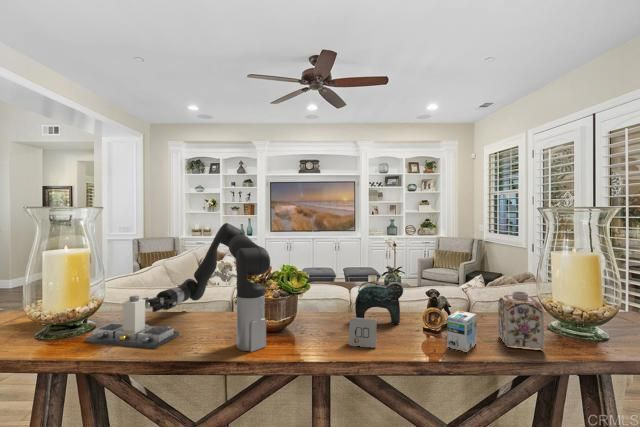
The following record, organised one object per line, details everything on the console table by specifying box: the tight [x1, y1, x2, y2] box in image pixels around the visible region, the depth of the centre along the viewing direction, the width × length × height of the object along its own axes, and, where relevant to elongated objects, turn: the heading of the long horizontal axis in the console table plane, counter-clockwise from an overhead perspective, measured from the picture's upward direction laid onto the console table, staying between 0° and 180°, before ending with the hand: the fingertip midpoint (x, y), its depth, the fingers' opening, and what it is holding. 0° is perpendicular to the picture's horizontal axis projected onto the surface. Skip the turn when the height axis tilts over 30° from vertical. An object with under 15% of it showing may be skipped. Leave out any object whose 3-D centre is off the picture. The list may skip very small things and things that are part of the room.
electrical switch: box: [348, 317, 378, 349], centre depth 120 cm, size 9×5×9 cm, turn 78°
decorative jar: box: [497, 290, 545, 350], centre depth 121 cm, size 12×12×18 cm
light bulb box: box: [446, 310, 478, 351], centre depth 119 cm, size 11×7×11 cm, turn 139°
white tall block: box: [122, 295, 146, 333], centre depth 124 cm, size 5×5×14 cm
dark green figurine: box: [354, 273, 404, 324], centre depth 145 cm, size 20×6×20 cm, turn 82°
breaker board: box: [85, 321, 180, 350], centre depth 124 cm, size 27×13×4 cm, turn 78°
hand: (143, 308), depth 129 cm, fingers open, 8 cm apart
